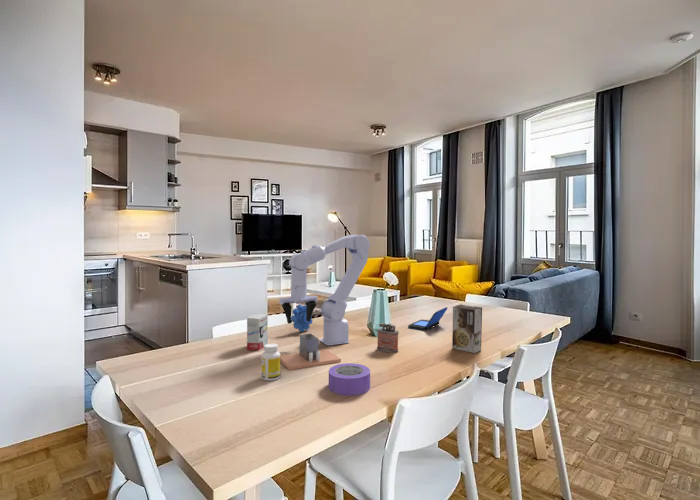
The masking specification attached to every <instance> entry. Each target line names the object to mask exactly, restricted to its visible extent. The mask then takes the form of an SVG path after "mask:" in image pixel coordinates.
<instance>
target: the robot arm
mask: <svg viewBox="0 0 700 500" xmlns="http://www.w3.org/2000/svg"><path fill="white" fill-rule="evenodd" d="M344 248H346V249H347V250H348V251H349V253H350V255H351V258H352V261H351V262H350V265H349V266H348V268H347V269H346V271H345V273H344V275H343V277H342V278H341V280H340V282H339V284H338V285H337V288H336V289H335V291H334V292H333V294H332V295H330V296H329V297H327V300H326V301H325V302H323V303H322V305H321V307H320V311H321V314H322V315H323V330H322V331H323V335H322V337H323V338H320V339H319V342H321V343H322V344H324V345H325V346H327V347H328V346H335V345H342V344H349V343H350V341H349V323H348V320H347V319H346V318H344V317H345V314H346V309H347V306H348V303H347V302H348V301H347V299H348V298H349V295H350V294H351V291H352V290H353V288H354V287H355V285H356V283H357V281H358V279H359V278H360V276H361V273H362V272H363V270H364V268H365V266H366V264H367V263H368V257H369V249H370V248H371V243H370V240H369V238H368V237H367V235H365V234H354V233H351V234H348V235H345V236H342V237H340V238H337V239H336V240H334V241H332V242H329V243H328V244H325V245H323V246H321V245H316V244H313V245H311V248H308V249H305V250H301V251H300V253H294V254H292V255H291V257H290V258H289V260H288V264H289V266H290V268H291V272H290V273H291V274H290V277H291V278H290V279H291V280H290V281H291V282H290V285H291V286H290V290H291V292H290V296H288V297H283V298H282V297H281V298H278V299H279V300H278V304H279V305H281V307H282V310H283V311H284V314H285V317H286V322H287V324H291V323H292V320H291V317H292V316H291V315H292V308H293V306H292V305H291V304H300V303H301V304H302V303H305V306H306V311H307V313H306V320H307V321H308V322H310V319H312V316H313V313H314V310H315V308H316V307H317V303H318V302H319V296H317V295H310V296H309V295H307V294H308V293H307V289H308V288H307V287H308V284H307V282H308V281H307V277H308V276H307V275H308V268H309V267H310V266H311V265H314V264H316V263H319V262H320V261H322V260H324V259H325V258H326V255H328V254H331V253H334V252H336V251H339V250H341V249H344ZM311 315H312V316H311Z"/></svg>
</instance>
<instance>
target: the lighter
mask: <svg viewBox="0 0 700 500" xmlns="http://www.w3.org/2000/svg"><path fill="white" fill-rule="evenodd" d="M378 327H380V328H377V330H376V333H377V347H376V350H377V351H379V352H380V351H381V352H384V353H393V354H394V353H395V354H396V353H399V334H400V333H399V331H398V330H396V324H392V323H385V322H380V323H379V324H378Z"/></svg>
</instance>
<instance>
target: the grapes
mask: <svg viewBox="0 0 700 500" xmlns="http://www.w3.org/2000/svg"><path fill="white" fill-rule="evenodd" d="M306 313H307V311H306V304H305V305H302V304H298V305H297V307H296V308H293V309H292V314H293V315H292V316H291V323H292V322H293V328H294V329H296V330H298V331H299V332H300V333H303V332H305V331H308V330H309V329H310V328H311V327H310V325H311V324H313V318H311V319H310V322H308V321H307V320H306ZM312 316H313V314H312V315H311V317H312Z"/></svg>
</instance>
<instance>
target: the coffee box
mask: <svg viewBox="0 0 700 500" xmlns="http://www.w3.org/2000/svg"><path fill="white" fill-rule="evenodd" d="M482 321H483V307H481V306H474V305H467V304H458V305H455V306H452V335H451V336H452V337H451V339H452V342H451V345H452V346H451V348H452V349H453V350H456V351H457V350H458V351H462V352H466V353H471V354H476V353H478V352H479V351H482V335H483V334H482V332H483V330H482V328H483V327H482V326H483V325H482V323H483V322H482Z"/></svg>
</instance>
